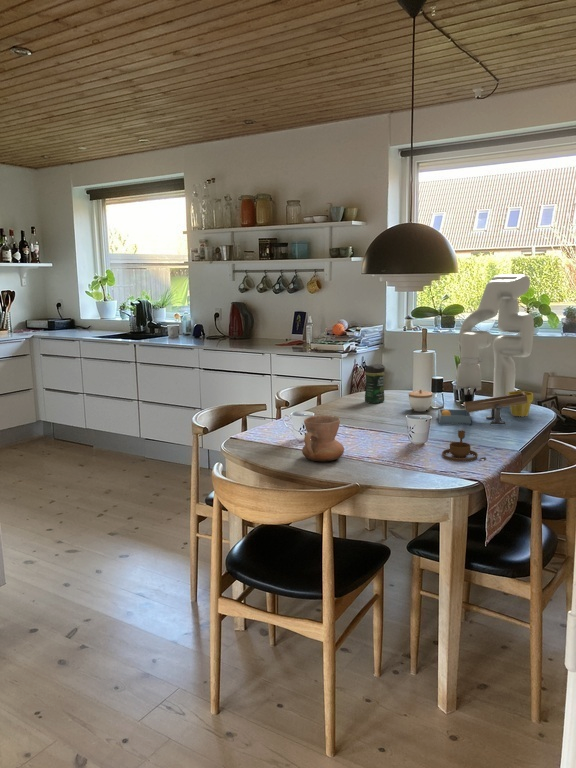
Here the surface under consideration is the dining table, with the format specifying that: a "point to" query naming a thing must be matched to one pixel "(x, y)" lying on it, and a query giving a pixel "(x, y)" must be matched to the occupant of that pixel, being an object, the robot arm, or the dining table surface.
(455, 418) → the grey square tray
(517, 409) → the plant pot
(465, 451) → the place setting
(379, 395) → the coffee jar
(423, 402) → the lidded jar
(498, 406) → the pivot stand
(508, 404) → the chute
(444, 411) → the ball
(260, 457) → the dining table surface
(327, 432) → the ceramic jug
